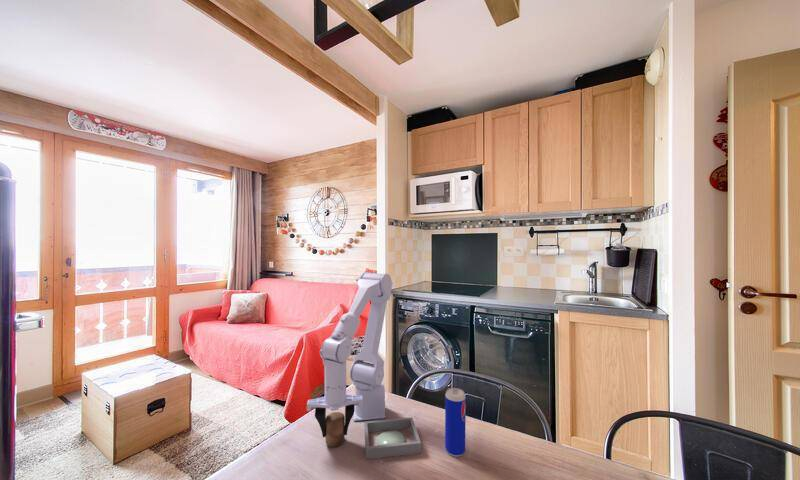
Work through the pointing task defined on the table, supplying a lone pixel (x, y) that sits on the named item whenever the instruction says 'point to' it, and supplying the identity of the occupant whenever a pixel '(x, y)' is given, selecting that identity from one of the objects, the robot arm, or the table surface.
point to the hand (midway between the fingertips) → (335, 433)
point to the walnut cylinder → (335, 429)
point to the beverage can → (455, 421)
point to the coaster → (390, 438)
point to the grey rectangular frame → (391, 448)
